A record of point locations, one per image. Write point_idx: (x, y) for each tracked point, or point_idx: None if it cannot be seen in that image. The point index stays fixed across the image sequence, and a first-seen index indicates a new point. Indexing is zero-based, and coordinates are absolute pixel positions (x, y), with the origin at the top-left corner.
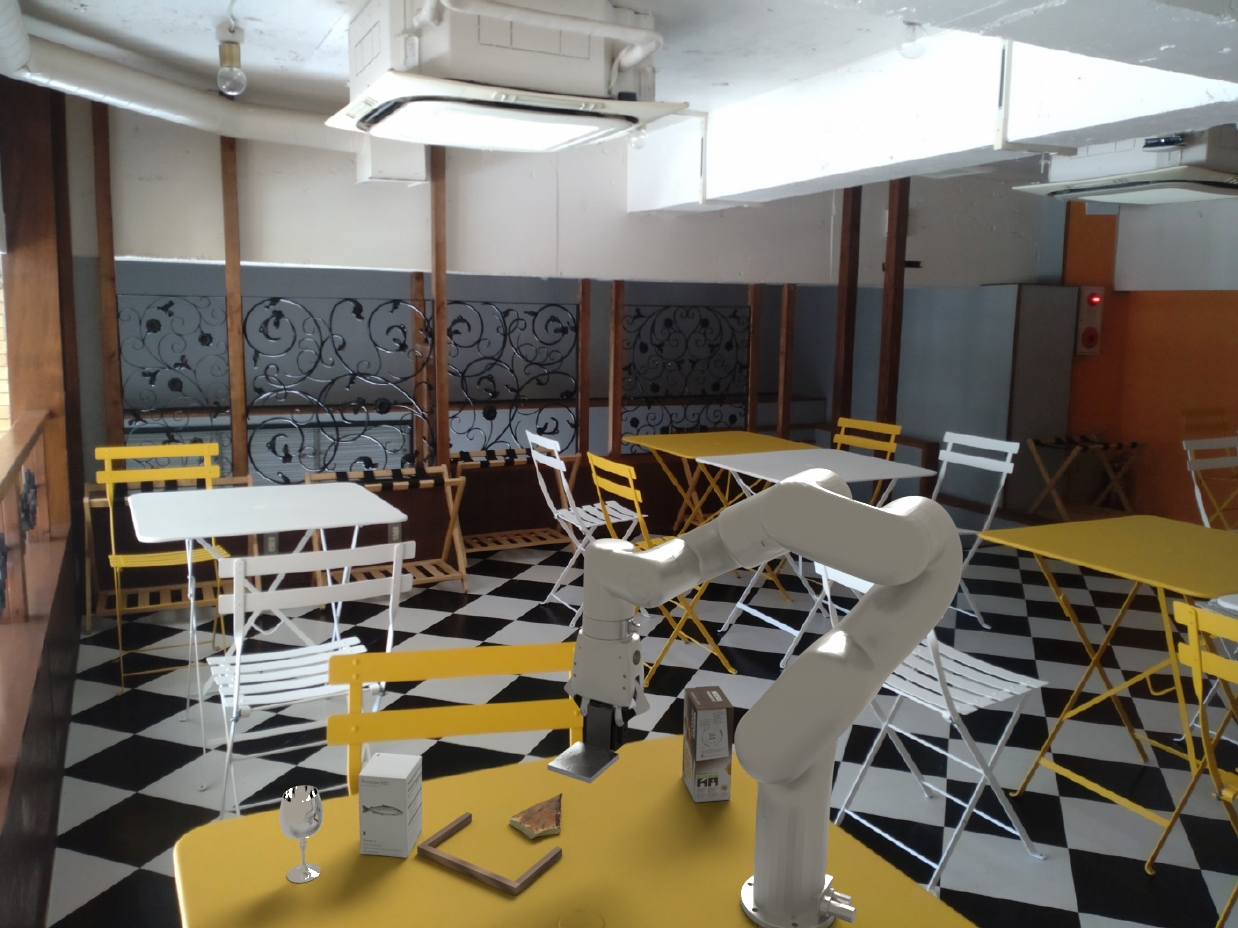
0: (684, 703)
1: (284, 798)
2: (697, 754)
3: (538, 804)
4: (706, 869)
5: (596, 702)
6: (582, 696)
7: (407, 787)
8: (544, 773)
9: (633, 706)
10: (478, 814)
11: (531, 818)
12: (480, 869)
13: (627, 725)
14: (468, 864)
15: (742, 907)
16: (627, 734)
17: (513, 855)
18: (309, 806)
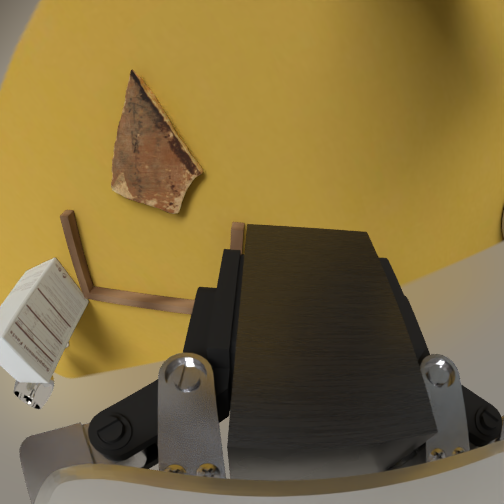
0: None
1: (21, 393)
2: None
3: (120, 131)
4: (466, 167)
5: (263, 478)
6: (143, 458)
7: (50, 367)
8: (63, 24)
9: (480, 443)
10: (67, 192)
11: (142, 181)
12: (174, 307)
13: (425, 350)
14: (155, 305)
15: (502, 231)
16: (412, 310)
17: (178, 251)
18: (43, 402)
